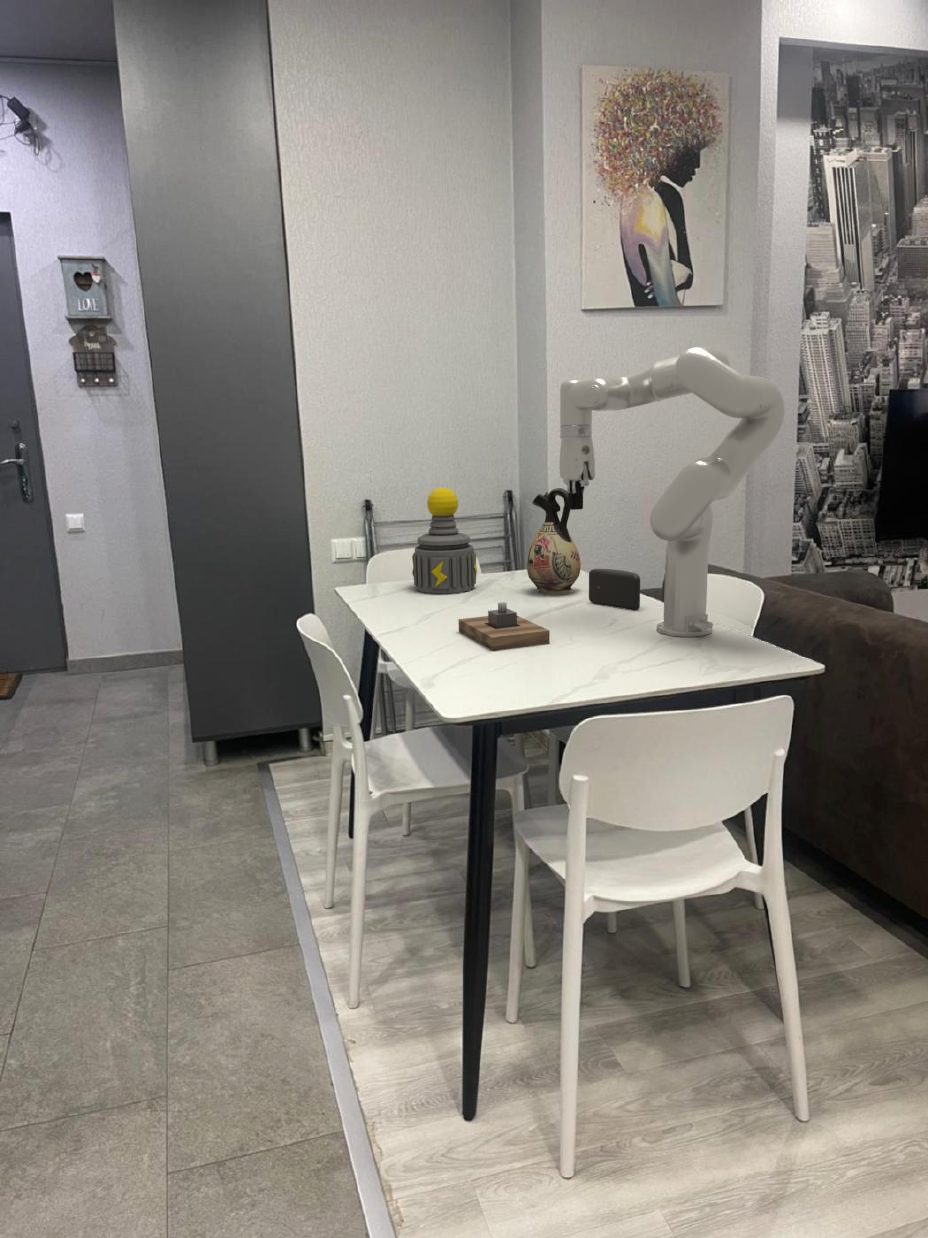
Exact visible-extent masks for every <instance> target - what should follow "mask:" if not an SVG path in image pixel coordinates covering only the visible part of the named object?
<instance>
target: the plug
mask: <svg viewBox="0 0 928 1238" xmlns="http://www.w3.org/2000/svg"><path fill="white" fill-rule="evenodd" d="M507 607H508V606H507V602H505V601H503V602H497V609H493V610H487V616H488V626H490V627H492V628H494V629H500V628H509V627H517V616H518V612H516V611H514V610H512V609H509V608H507Z"/></svg>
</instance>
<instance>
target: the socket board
mask: <svg viewBox="0 0 928 1238" xmlns="http://www.w3.org/2000/svg"><path fill="white" fill-rule="evenodd" d="M458 632H459V633H461V634H462V635H465V636H466V637H467V638H470V639H471V640H473V641H474V642H476V643H478V644H480V645H482V646H483V647H485V648H487V649H488V650H490V651H492V652H493V651H502V650H509V649H516V648H524V647H533V646H541V645H547V644H550V643H551V642H550V639H551V638H550V633H551V632H550V629H548V628H546V627H543V626H542V625H541V626H540V625H539V624H536V623H534V622H532V621H530V620H528V619H526V618H524V617H522V616H519V615H517V627H509V628H500V629H494V628H492V627H490V626H488V615H485V616H484V615H483V616H482V615H481V616H475V617H466V618H458Z"/></svg>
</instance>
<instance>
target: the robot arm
mask: <svg viewBox="0 0 928 1238" xmlns="http://www.w3.org/2000/svg"><path fill="white" fill-rule="evenodd" d="M730 362H731V361H730V360H729V357H728V356H727V354H726V353H725V352H724V351H722V350H721V349H718V348H713V347H707V346H706V347H705V346H695V347H690V348H688V349H686V350H684V351H683V352H682V353H681V354H680V355H676V356H673V357H670V358H669V357H668V358H665V359H661V360H656V361H654V362H652V364H651V366H650V368H648V369H647V370H645V371H642V372H638V373H634V374H631V375H630V374H629V375H626V376H622V377H594V378H590V379H589V378H588V379H569V380H565V381H562V382H561V384H560V388H559V392H560V393H559V396H560V398H559V400H560V401H559V402H560V403H559V405H560V406H559V411H560V412H559V413H560V415H559V416H560V417H559V418H560V419H559V421H560V422H559V423H560V424H559V428H560V429H559V430H560V431H559V434H560V435H559V436H560V437H559V438H560V440H561V441H560V450H559V451H560V452H559V477H560V478H561V479H563V481H562V482H563V484H564V485H565V486H566V488H567V489H566V491H567V492H568V508H569V509H571V510H572V511H574V510H577V511H578V510H583V509H584V493H585V488H586V487H587V486H589V485H590V481H592V480H594V479H595V478H596V477H595V476H596V472H595V471H596V468H595V465H596V464H595V450H594V443H593V438H592V435H593V434H592V433H593V432H592V430H593V429H592V428H593V427H592V426H593V425H592V424H593V418H592V417H593V411H597V412H598V411H599V412H603V411H604V412H605V411H621V410H626V409H630V408H636V407H640V406H644V405H648V404H652V403H655V402H661V401H663V400H664V401H665V400H668V399H672V398H677V397H681V396H685V395H689V394H693V395H695V396H696V397H698V398H699V399H701V400H703V402H705V403H706V404H708V405H710V406H711V407H712V408H714V409H716V411H719V412H720V413H722V414H723V415H726V416H727V417H731V418H734V419H740V420H739V422H738V423H737V424H736V425H735V426H734V427H733V428H732V429H731V430H730V431H729V432H728V434H726V436H725V437H724V438H723V440H722V441H721V442H720V444H719V445H718V446H717V448H716V449H715V450H714V451H713V452H712V453H711V454H710V455H709V456H706V457H701V458H698V459H695V460H693V461H691V462H690V463H687V465H686V466H685V467H683V468H682V469H681V471H680V472H679V473H678V474H677V475H676V477H675V478H674V479H673V480H672V482H671V483H670V484H669V486H668V487H667V489H666V490H665V491H664V492H663V494H662V495H661V496H660V497H659V499H658V500H657V501H656V503H655V505H654V506H653V508H652V509H651V513H650V516H649V524H650V528H651V531H652V532H653V534H654V535H655V536H656V537H657V538H659V539H661V540H663V541H666V542H667V543H666V549H665V555H664V556H665V563H664V589H663V590H664V591H663V592H664V593H663V594H664V595H663V597H664V598H663V621H661V622H659V623H657V624H656V631H657V632H659V633H661V634H663V635H666V636H673V637H683V638H684V637H689V638H690V637H701V636H702V637H703V636H707V635H709V634H711V633H712V632H713V626H714V623H713V622H711V621H709V619H708V618H709V617H708V615H709V614H707V601H708V600H707V598H708V597H707V595H708V594H707V593H708V570H709V569H708V567H709V566H708V565H709V550H710V549H709V548H710V539H711V534H712V528H713V523H714V515H713V509H712V506H711V504H713V502H717V501H721V500H723V499H725V498H727V497H729V496H730V495H731V494H732V493H733V492H734V491H735V490H736V488H737V487H738V486H739V485H740V483H741V482H742V481H743V479H744V478H745V477H746V476H747V475H748V473H749V472H750V471H751V470H752V469H753V467H754V466H755V465H756V464H757V462H758V460H759V459H760V458H761V457H762V456H763V454H764V453H765V452H766V450H768V448H769V447H770V446H771V444H772V443H773V442H774V440H775V439H776V437H777V436H778V434H779V432H780V430H781V427H782V426H783V422H784V419H785V403H784V402H785V401H784V398H783V395H782V393H781V391H780V389H779V388H778V386H777V385H776V384H775V382H773V381H772V380H771V379H769V378H766V377H763V376H758V375H744V374H743V373H741V372H739V371H738V370H737V369H735V368H733V367H732V366H731V363H730ZM571 510H570V511H571Z"/></svg>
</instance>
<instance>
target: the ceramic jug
mask: <svg viewBox="0 0 928 1238" xmlns="http://www.w3.org/2000/svg"><path fill="white" fill-rule="evenodd" d="M557 496H559V497H561V498H562V499H563V507H562V514H561V518H560V519H559V516H558V513H559V512H561V506H560V504H559V502H557V500H556V497H557ZM531 504H532V505H534V506H536V507H539V508H540V509H542V510H543V511H544V512H545V519H544V521H543V523H542V526H541V527H540V529H538V531H537V533H536V535H535V537H534V538H533V541H532V543H531V544H530V547H529V550H528V554H527V559H526V572H527V576H528V578H529V579H530V582H532V583H533V585H535V587H536V589H537V590H538V593H539V594H542V595H549V596H551V595H552V596H553V595H564V594H565V595H566V594H570V593H571V591H572V588H571V587H572V586H573V585H574V583H576V581H577V580H578V578H579V576H580V573H581V568H582V567H581V557H580V553H579V550H578V547H577V546H576V544H575V542H574V540H573V538H572V536H571V535H570V532H569V529H568V527H567V526H568V520H569V518H570V514H571V509H569V508H568V491H567V489H564V488H562V487H561V488H560V487H557V488H553V489H552V490H550V491H549V492H547V491H546V492H545V494H544V495H543V494H542V493H539V494H537V495H536V496H535V498H534V499H533V501H532V503H531ZM583 595H584V594H583Z"/></svg>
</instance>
